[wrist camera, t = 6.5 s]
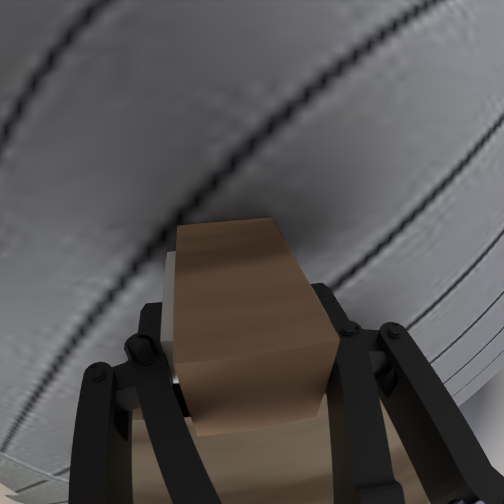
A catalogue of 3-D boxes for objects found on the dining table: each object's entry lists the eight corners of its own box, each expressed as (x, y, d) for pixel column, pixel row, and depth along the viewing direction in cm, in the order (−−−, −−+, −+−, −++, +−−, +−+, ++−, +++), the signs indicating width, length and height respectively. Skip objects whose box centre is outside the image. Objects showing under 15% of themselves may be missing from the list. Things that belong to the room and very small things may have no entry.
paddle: (177, 225, 16) (173, 363, 8) (271, 217, 16) (340, 339, 9) (218, 445, 30) (231, 514, 22) (262, 439, 30) (279, 507, 23)
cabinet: (117, 359, 20) (111, 576, 6) (370, 322, 23) (470, 491, 9) (182, 468, 33) (196, 570, 19) (323, 445, 36) (357, 539, 22)
